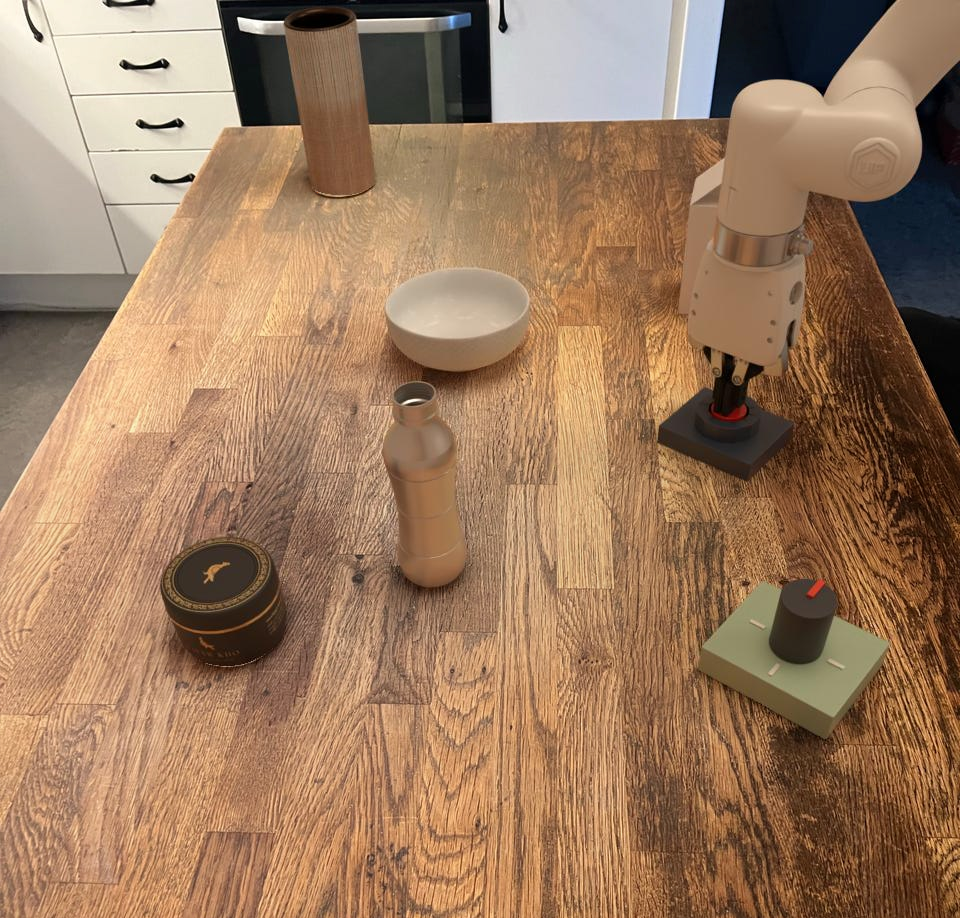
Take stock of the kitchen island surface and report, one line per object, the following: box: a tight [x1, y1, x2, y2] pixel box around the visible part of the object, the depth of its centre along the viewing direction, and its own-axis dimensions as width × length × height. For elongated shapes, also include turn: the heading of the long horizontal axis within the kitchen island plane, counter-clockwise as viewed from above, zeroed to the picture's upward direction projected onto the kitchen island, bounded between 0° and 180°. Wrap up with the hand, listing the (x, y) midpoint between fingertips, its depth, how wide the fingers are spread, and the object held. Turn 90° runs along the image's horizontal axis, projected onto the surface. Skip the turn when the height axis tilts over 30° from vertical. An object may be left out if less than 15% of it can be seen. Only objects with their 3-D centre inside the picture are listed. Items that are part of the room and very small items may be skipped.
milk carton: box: [677, 156, 725, 315], centre depth 116 cm, size 7×7×19 cm
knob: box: [769, 578, 839, 664], centre depth 80 cm, size 4×4×6 cm
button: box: [710, 403, 747, 422], centre depth 104 cm, size 4×4×2 cm
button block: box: [656, 386, 795, 483], centre depth 105 cm, size 11×9×4 cm
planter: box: [283, 6, 377, 195], centre depth 145 cm, size 10×10×23 cm
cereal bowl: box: [384, 266, 531, 373], centre depth 117 cm, size 17×17×7 cm
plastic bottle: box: [381, 380, 468, 588], centre depth 87 cm, size 6×7×20 cm
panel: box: [697, 580, 891, 740], centre depth 84 cm, size 12×10×3 cm
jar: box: [159, 536, 287, 666], centre depth 88 cm, size 10×10×8 cm
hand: (727, 407), depth 103 cm, fingers closed
